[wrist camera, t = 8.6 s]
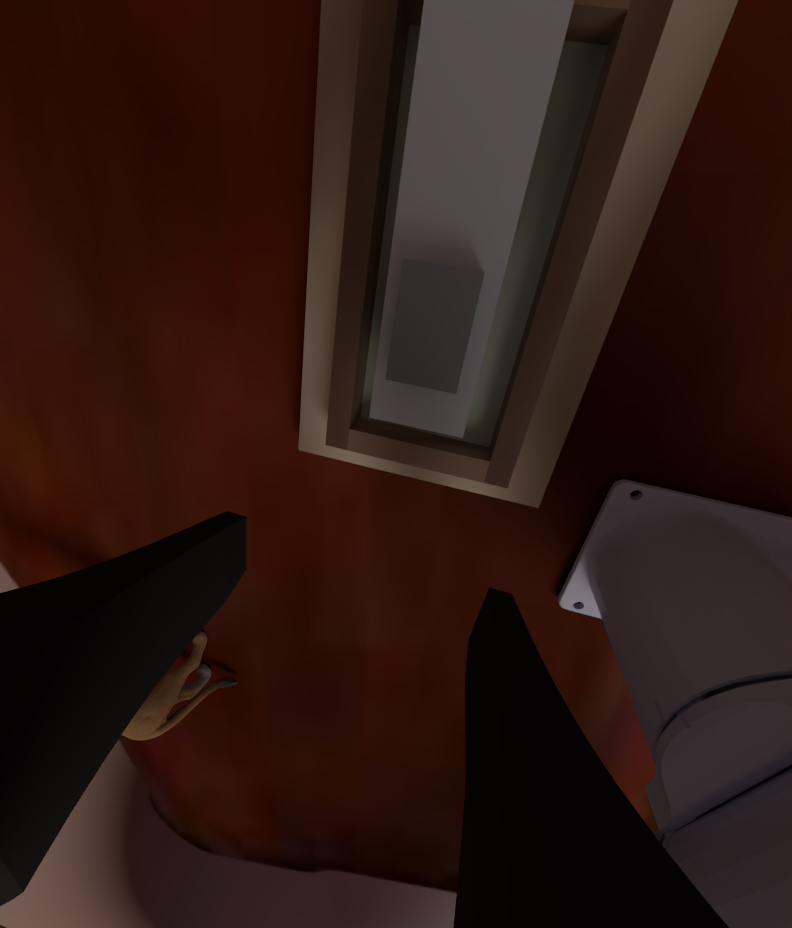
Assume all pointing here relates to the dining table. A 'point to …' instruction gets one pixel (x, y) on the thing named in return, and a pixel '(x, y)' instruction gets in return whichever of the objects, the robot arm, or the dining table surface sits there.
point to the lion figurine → (174, 695)
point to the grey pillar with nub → (461, 198)
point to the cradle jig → (535, 241)
